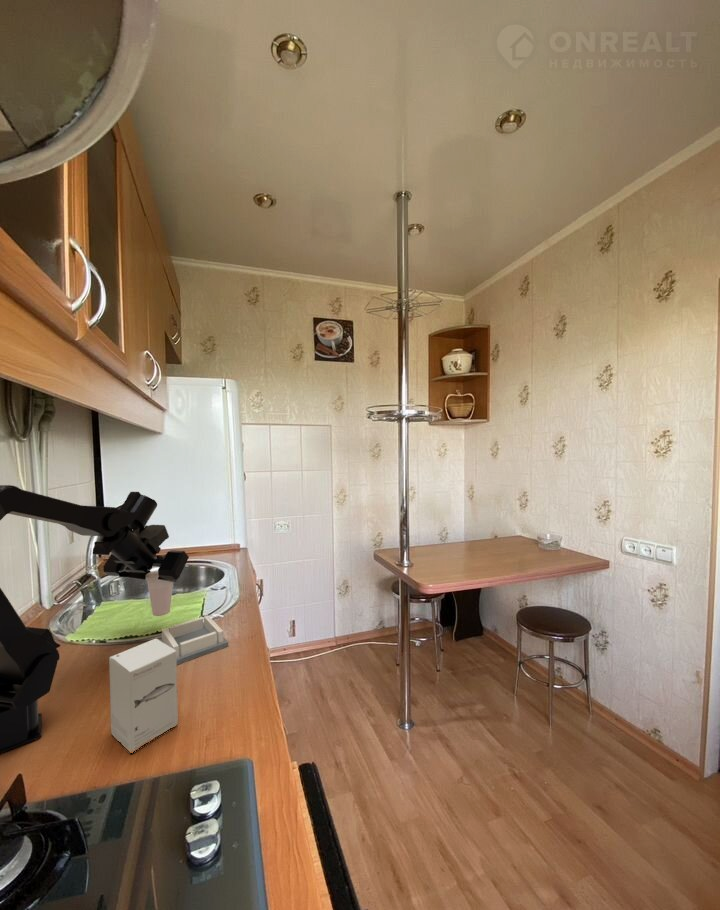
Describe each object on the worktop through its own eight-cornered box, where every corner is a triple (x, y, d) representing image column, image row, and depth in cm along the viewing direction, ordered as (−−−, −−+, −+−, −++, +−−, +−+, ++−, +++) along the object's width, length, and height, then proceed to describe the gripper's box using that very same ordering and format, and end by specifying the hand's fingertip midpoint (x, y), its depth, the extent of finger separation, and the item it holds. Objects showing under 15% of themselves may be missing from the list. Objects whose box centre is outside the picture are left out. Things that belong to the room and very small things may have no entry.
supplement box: (130, 757, 55) (127, 672, 55) (110, 734, 59) (107, 655, 59) (179, 726, 61) (177, 649, 61) (158, 707, 65) (156, 636, 65)
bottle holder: (228, 646, 85) (228, 631, 85) (170, 667, 77) (170, 650, 77) (210, 626, 94) (210, 613, 94) (157, 643, 86) (157, 628, 86)
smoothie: (160, 620, 87) (159, 560, 86) (139, 616, 89) (138, 558, 89) (182, 608, 93) (180, 552, 93) (162, 605, 95) (160, 550, 95)
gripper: (182, 516, 85) (212, 551, 96) (112, 514, 88) (148, 548, 99) (158, 561, 77) (193, 594, 88) (82, 557, 81) (125, 589, 92)
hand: (164, 579), depth 92 cm, fingers closed on smoothie, 6 cm apart
